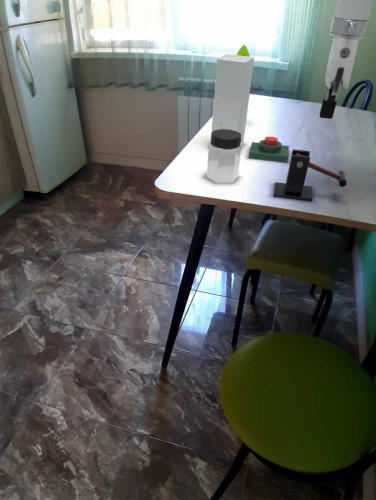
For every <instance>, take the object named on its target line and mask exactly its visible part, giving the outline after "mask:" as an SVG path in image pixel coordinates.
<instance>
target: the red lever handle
mask: <svg viewBox="0 0 376 500" xmlns="http://www.w3.org/2000/svg"><path fill="white" fill-rule="evenodd" d="M296 155H301V156H304V155H302V154H299V153H297V154H296ZM308 169H311V170H313V171H316V172H318V173H321V174H322V175H325V176H328V177H330V178H333V179H335V180H337V183H338V187H340V188H344V187H346V186H347V184H348V183H347V182H348V181H347V177H346V172H345V171H344V170H340V171H338V172H334V171H331V170H329V169H328V168H325V167H323V166H320V165H318V164H316V163H313V162H311V161H310V162H309V166H308Z"/></svg>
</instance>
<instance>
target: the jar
mask: <svg viewBox="0 0 376 500" xmlns="http://www.w3.org/2000/svg"><path fill="white" fill-rule="evenodd" d="M211 132H212V131H211ZM242 146H243V145H241V134H240V133H239V132H237V131H234V130H228V129H219V130H215V131H213V132H212V133H210V143H209V144H208V153H207V165H206V166H207V167H206V178H208V179H209V180H210V181H212V182H213V183H215V184H232V183H234V182H235V181H236V180H237V179H238V178H239V169H240V161H241V153H242Z"/></svg>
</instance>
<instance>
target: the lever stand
mask: <svg viewBox="0 0 376 500" xmlns="http://www.w3.org/2000/svg"><path fill="white" fill-rule="evenodd" d="M297 153H299V154H302V155H304V156H301V155H296V154H297ZM310 155H311V151H310V150H306V149H305V150H304V149H294V148H292V151H291V155H290V160H289V166H288V171H287V175H286V180H285V182H277V181H275V182H274V187H273V188H274V189H273V196H272V197H273V198H277V199H287V200H295V201H303V202H313V186H312V185H305V182H306V178H307V174H308V169H309V167H308V166H309V162H311V156H310Z"/></svg>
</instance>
